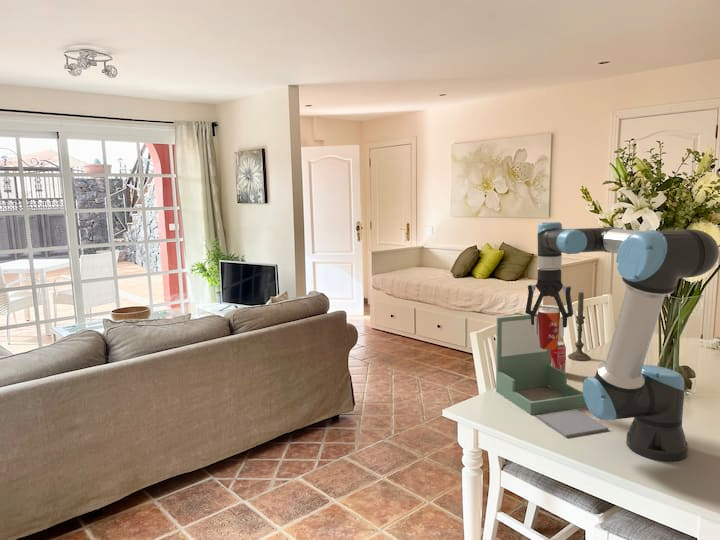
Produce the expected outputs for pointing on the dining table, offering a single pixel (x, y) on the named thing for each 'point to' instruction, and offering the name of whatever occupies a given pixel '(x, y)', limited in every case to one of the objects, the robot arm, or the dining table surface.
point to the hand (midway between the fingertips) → (548, 335)
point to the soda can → (558, 356)
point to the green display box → (529, 368)
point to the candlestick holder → (579, 332)
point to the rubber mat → (571, 423)
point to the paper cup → (548, 326)
